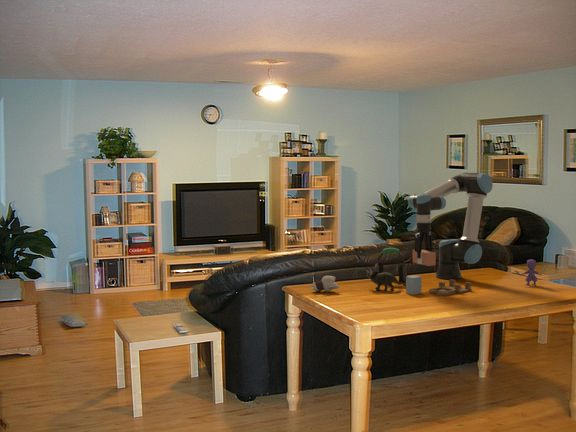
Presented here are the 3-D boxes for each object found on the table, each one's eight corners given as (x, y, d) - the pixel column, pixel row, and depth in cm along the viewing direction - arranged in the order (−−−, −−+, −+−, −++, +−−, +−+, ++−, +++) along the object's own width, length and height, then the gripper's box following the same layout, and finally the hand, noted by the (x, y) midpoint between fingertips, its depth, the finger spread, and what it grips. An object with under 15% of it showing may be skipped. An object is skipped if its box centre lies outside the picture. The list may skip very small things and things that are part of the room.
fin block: (406, 293, 358) (406, 276, 357) (414, 291, 362) (414, 275, 361) (413, 294, 354) (413, 278, 353) (421, 292, 358) (421, 276, 358)
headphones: (407, 280, 395) (407, 247, 393) (407, 283, 384) (407, 249, 382) (375, 279, 398) (375, 246, 396) (374, 282, 387) (374, 249, 386)
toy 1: (314, 301, 358) (341, 295, 359) (312, 288, 354) (339, 281, 354) (310, 288, 369) (336, 282, 370) (307, 275, 365) (333, 269, 366)
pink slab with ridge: (412, 262, 373) (412, 246, 372) (419, 261, 376) (419, 245, 375) (428, 265, 361) (428, 249, 360) (435, 265, 363) (435, 248, 362)
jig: (426, 292, 359) (426, 284, 358) (450, 287, 373) (450, 279, 372) (447, 296, 348) (447, 288, 348) (471, 290, 362) (471, 282, 362)
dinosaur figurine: (405, 289, 367) (405, 269, 366) (402, 292, 359) (402, 272, 358) (366, 287, 374) (366, 267, 373) (363, 290, 366) (363, 270, 365)
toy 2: (546, 284, 378) (546, 258, 376) (549, 286, 372) (549, 260, 371) (513, 284, 380) (513, 258, 378) (515, 286, 374) (516, 260, 373)
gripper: (418, 224, 357) (418, 266, 360) (439, 221, 369) (439, 261, 372) (407, 223, 363) (407, 264, 365) (428, 220, 375) (428, 260, 377)
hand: (423, 263), depth 368 cm, fingers closed on pink slab with ridge, 6 cm apart
